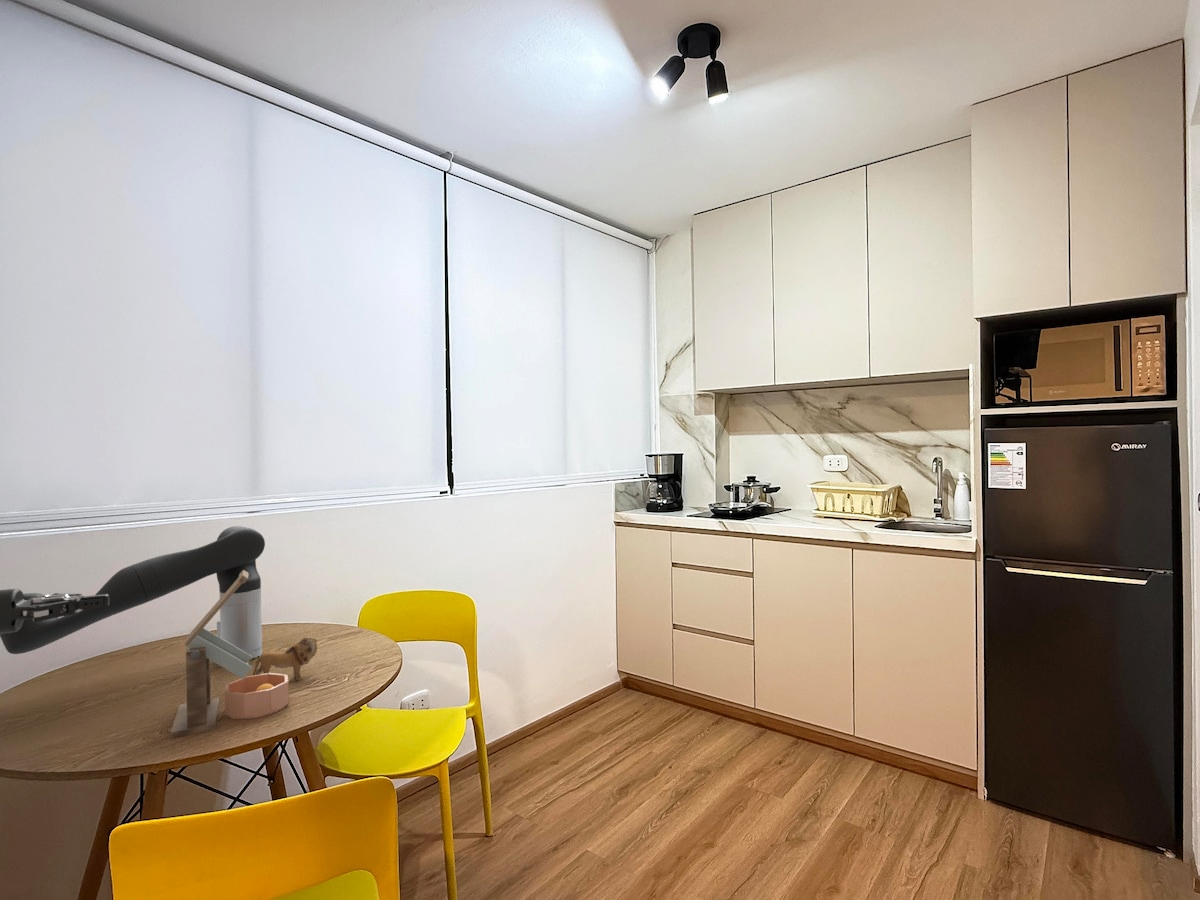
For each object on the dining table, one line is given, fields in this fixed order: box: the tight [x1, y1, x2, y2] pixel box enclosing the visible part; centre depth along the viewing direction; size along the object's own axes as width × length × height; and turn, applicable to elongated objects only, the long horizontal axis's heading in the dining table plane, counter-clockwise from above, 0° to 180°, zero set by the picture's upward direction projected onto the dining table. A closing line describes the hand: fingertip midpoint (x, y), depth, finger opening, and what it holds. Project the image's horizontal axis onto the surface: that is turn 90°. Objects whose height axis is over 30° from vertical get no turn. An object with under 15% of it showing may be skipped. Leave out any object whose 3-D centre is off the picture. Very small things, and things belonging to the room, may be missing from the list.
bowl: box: [224, 672, 290, 720], centre depth 129 cm, size 11×11×5 cm
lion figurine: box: [251, 636, 318, 681], centre depth 145 cm, size 15×5×9 cm, turn 118°
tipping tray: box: [184, 570, 254, 679], centre depth 128 cm, size 13×8×16 cm
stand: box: [170, 647, 221, 739], centre depth 124 cm, size 7×15×15 cm, turn 28°
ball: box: [256, 684, 274, 691], centre depth 130 cm, size 4×4×4 cm
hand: (108, 600), depth 118 cm, fingers closed
